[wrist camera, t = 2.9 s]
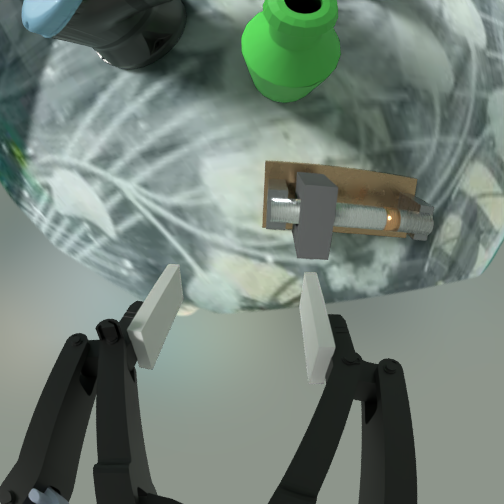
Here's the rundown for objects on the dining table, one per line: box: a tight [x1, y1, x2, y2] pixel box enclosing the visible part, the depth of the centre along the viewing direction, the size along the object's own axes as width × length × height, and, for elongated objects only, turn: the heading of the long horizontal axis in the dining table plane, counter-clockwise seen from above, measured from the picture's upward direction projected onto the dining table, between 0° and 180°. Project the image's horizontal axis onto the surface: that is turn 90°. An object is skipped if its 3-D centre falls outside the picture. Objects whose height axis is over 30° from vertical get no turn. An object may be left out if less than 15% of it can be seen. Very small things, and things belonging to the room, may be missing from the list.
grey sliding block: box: [292, 172, 338, 260], centre depth 33 cm, size 4×8×8 cm, turn 178°
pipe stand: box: [262, 161, 434, 241], centre depth 36 cm, size 24×10×10 cm, turn 88°
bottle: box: [241, 0, 341, 103], centre depth 21 cm, size 9×9×25 cm
